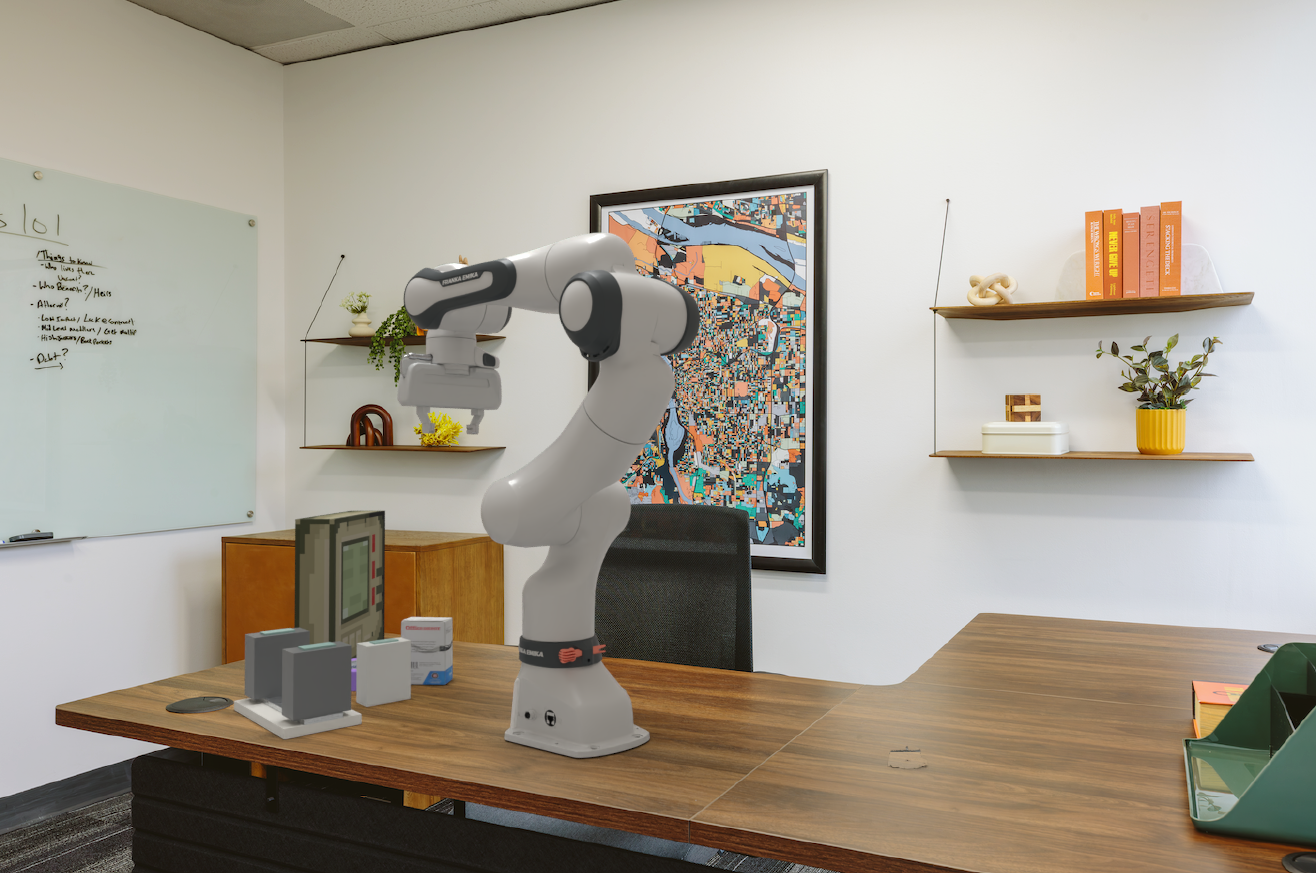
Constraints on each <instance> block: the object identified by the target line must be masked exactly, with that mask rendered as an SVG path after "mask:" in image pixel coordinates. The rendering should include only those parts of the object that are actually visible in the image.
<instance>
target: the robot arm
mask: <svg viewBox="0 0 1316 873" xmlns="http://www.w3.org/2000/svg"><path fill="white" fill-rule="evenodd" d="M403 306H404V310H405V311H406V314H407V315H408V317H409V318H410V319H411V321H412V322H413V323H414V324H415V326H417V328H419V329H421V330H427V332H426V333H427V334H426V335H425V336H426V337H425V353H416V352H407V354H405V355H403V356H402V358H400V363H399V372H400V373H399V379H398V384H397V401H398V403H399V405H400V406H401V407H414V408H416V409H415V410H416V415H417V417H418V420H419V421H420V423H421V426H422V427H421V432H422V434H435V432H436V429H435V428H436V423H434V422H432V420H431V419H430V417H429V414H430V413H431V408H434V409H457V410H458V409H459V410H470V415H471V416H473V417H472V419H471V421H470V424H466V426H465V427H466V434H467V435H478V434H479V433H480V432H479V431H480V426H479V425H480V424H481V422H482V420H483V419H484V417H485V411H496V410H499V408H500V407H501V405H502V402H503V401H502V397H503V396H502V395H503V394H502V392H503V391H502V379H501V375H500V373H499V372H498V370H496V369H499V368H500V363H501V361H500V358H499V357H498V356H496V355H494V354H492V353H490V352H489V351H486V350H484V349H483V348H482V347H480V346H477V336H476V335H477V334H480V335H481V334H482V335H490V334H497V333H500V332H501V331H503V330H504V329H505V327H506V326H507V325H508V324H509V322H510V320H511V318H512V314H513V313H512V312H513V308H515V309H520V310H525V311H532V312H534V313H535V312H537V313H541V314H549V315H550V314H552V315H559V319H560V320H559V321H560V323H561V325H562V327H563V330H564V332H565V334H566V335H567V337H568V338H569V339H570V341H571V342H572V343H573V344H574V345H575V346H576V347H577V348H578V349H579V352H580V354H581V357H582V358H583V359H585V360H586V361H589V362H591V363H592V362H593V363H599V366H600V367H599V372H598V376H597V378H596V380H595V381H594V383H593V385H591V387H590V388H589V391H588V392H587V394H586V395H585V396H584V399H583V400H582V402H581V403H580V405H579V407H578V408H577V410H576V411H575V413H574V414H573V416H572V417H571V419H570V420H569V422H568V423H567V425H566V426H565V428H564V430H563V431H562V432H561V433H560V435H559V436H558V437H556V439H555V440H554V441H553V442H552V443H551V444H550V445H549V446H547V448H545V449H544V450H543V451H541V453H539V454H538V455H537V456H536V457H534V458H533V459H532V460H530V461H529V462H528V463H527V464H525V465H524V466H522V467H521V468H519V469H518V470H516V471H514V472H512V473H510V474H508V475H507V476H504V477H502V478H500V479H496V480H495V481H493V482H492V483H491V484H490V485H489V486H488V488H487V489H486V491H485V492H484V495H483V497H482V501H481V505H480V518H481V523H482V526H483V528H484V530H485V532H486V533H487V535H488V536H489V537H490V539H491V540H492V541H493V542H495V543H497V544H501V545H506V546H511V547H519V548H525V549H526V548H538V547H541V548H542V547H549V549H548V552H547V555H546V558H545V560H544V562H543V563H542V565H541V566H540V567H539V568H538V569H537V570H536V571H535V572H534V573H533V574H532V575H530V576H529V577H528V578H527V580H526V581H525V583H524V585H523V588H522V592H521V598H522V602H521V603H522V604H521V606H522V607H521V609H522V610H521V615H522V616H521V621H522V622H521V623H522V624H521V627H522V629H521V635H520V636H519V644H518V649H517V650H518V660H519V661H520V663H521V664H520V669H519V672H518V674H517V676H516V678H515V680H514V683H513V693H512V703H511V704H512V705H511V712H510V713H511V716H510V725H509V728H507V729H506V730H505V732H504V740H505V741H506V742H507V741H509V742H512V743H515V744H520V745H523V746H526V747H527V746H528V747H531V748H535V749H538V750H539V749H540V750H543V751H548V752H552V753H555V754H559V755H564V756H568V757H572V758H577V759H578V758H579V759H580V758H581V759H582V758H592V757H593V758H594V757H599V756H600V757H601V756H606V755H611V754H614V753H615V754H616V753H619V752H623V751H626V750H629V749H630V750H631V749H632V748H633V749H634V748H637V747H638V746H640V745H642V744H645V743H647V742H648V741H650V739H651V738H650V737H651V736H650V732H649V731H647V730H646V729H645V728H642V727H641V726H639V725H636V724H634V713H633V706H632V705H633V704H632V699H631V697H630V695H629V694H628V691H627V690H626V688H623V687H622V686H621V685H620V683H619V682H618V681H617V679H616V678H615V677H614V676H613V675H612V673H611V672H610V671H609V669H608V668H607V667H606V666H605V665H604V663H603V662H602V660H603V655H602V653H606V650H602V649H604V648H605V647H606V644H600V642H599V639H598V636H597V634H596V633H595V617H596V616H595V612H596V610H595V608H596V589H597V582H598V577H599V573H600V570H601V568H602V564H603V561H604V559H605V557H606V554H607V552H608V550H609V548H610V547H611V545H612V543H613V542H614V541H615V539H617V537H618V536H619V535H620V534H621V533H622V532H623V531H624V530H625V529H626V527H627V526H628V523H629V521H630V518H631V511H632V505H631V499H630V495H629V492H628V490H627V489H626V486H625V485H624V484H623V483H622V482H621V481H620V480H621V479H622V478H623V477H625V475H627V473H628V472H629V470H630V468H631V467H632V465H633V464H634V463H635V461H636V460H637V459H638V456H640V454H641V452H642V450H644V447H645V446H646V444H647V443H648V442H649V441H650V439H651V438H652V436H653V434H654V432H656V429H657V428H658V426H659V424H660V423H661V421H662V419H663V417H664V415H665V413H666V412H667V411H666V410H667V408H668V406H669V404H670V402H671V400H672V396H673V395H674V390H675V387H676V379H675V378H676V377H675V375H674V372H673V370H672V367H671V366H670V365H669V364H668V362H666V360H665V359H664V358H663V357H664V356H665V357H666V356H672V355H676V354H679V353H681V352H683V351H685V350H687V349H688V348H689V347H690V346H691V345H692V344H693V342H694V341H695V339H696V338H697V336H698V333H699V328H700V325H701V324H700V323H701V316H700V315H701V314H700V308H699V305H698V303H697V301H696V299H695V298H694V296H692V294H690V293H689V292H688V291H686V290H685V289H684V288H682V287H680V286H679V285H676V284H675V283H672V282H670V281H667V280H665V279H664V278H662V277H660V276H658V275H653V276H650V277H647V276H643V275H642V274H640V273H639V272H638V270H637V267H636V259H635V255H634V253H633V250H632V248H631V247H630V245H629V244H628V242H626V240H624V239H623V238H622V237H621V236H619V235H617V234H615V233H612V232H591V233H584V234H583V233H582V234H578V235H575V236H574V235H573V236H571V237H568V238H563V239H561V240H558V241H556V242H552V243H550V244H547V245H544V246H541V247H538V248H535V249H532V250H529V251H525V252H521V253H518V254H513V255H509V256H506V257H502V258H498V259H494V260H490V261H484V262H480V263H479V262H478V263H475V264H471V265H468V264H464V263H459V262H449V263H443V264H439V265H437V266H435V267H433V268H430V267H425V268H422V269H420V270H419V271H418V272H417V273H416V274H414V275H413V276H412V277H411V278H410V279H409V280H408V282H407V284H406V286H405V288H404V292H403Z"/></svg>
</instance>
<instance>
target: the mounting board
mask: <svg viewBox="0 0 1316 873" xmlns="http://www.w3.org/2000/svg"><path fill="white" fill-rule="evenodd" d="M233 710H234V712H237V713H238V714H240V715H242V716H244V717H245V718H247V719H248V720H250V721H252V722H254V724H255V723H256V724H258V725H259V726H260V727H262V728H264V729H265V730H267V731H269V732H270V733H272V734H274V735H276V736H277V737H279V738H281V739H283V740H288V739H289V740H290V739H293V738H297V737H302V736H307V735H313V734H317V733H318V734H319V733H323V732H327V731H332V730H333V731H334V730H337V729H342V728H346V727H352V726H357V725H362V722H363V721H362V719H363V716H362V715H363V714H362V713H360V712H359V711H356V710H354V709H352V708H351V710H349V711H343V718H339V719H334V720H329V721H324V722H318V723H313V724H308V725H303V724H301V723H299V722H297V721H292V720H290V719H288V718H286V717H285V716H283V715H282V713H281V712H279V711H277V710H275V709H273V708H271V707H269V706H268V705H266V704H264V703H262V702H260V701H258V700H253V699H251V698H249V697H247V698H243V699H235V700H233Z"/></svg>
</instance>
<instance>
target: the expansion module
mask: <svg viewBox="0 0 1316 873" xmlns="http://www.w3.org/2000/svg"><path fill="white" fill-rule="evenodd" d="M355 692H356V695H355V697H356V698H355V702H356V703H357V704H359V705H362V706H364V707H366V708H370V707H374V706H378V705H384V704H390V703H394V702H396V703H397V702H399V701H404V700H406V701H407V700H411V697H412V694H411V693H412V684H411V640H408V639H404V638H401V636H399V637H392V638H384V639H383V640H376V641H369V642H363V643H357V676H356V691H355Z"/></svg>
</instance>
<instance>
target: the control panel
mask: <svg viewBox="0 0 1316 873" xmlns="http://www.w3.org/2000/svg"><path fill="white" fill-rule="evenodd" d="M294 522H295V523H294V619H293V620H294V627H293V628H302V629H305V630H308V631H310V645H311V644H319V643H326V642H338V641H340V642H343V643H346V644H349V645H352V658H351V659H353V658H357V643H363V642H369V641H376V640H383V639H385V603H386V602H385V595H386V593H385V589H386V588H385V586H386V584H385V583H386V581H385V580H386V579H385V578H386V577H385V576H386V575H385V573H386V572H385V570H386V566H385V565H386V560H385V558H386V556H385V555H386V554H385V553H386V552H385V551H386V550H385V549H386V547H385V546H386V539H385V538H386V510H347V511H340V512H334V513H327V514H321V515H314V516H308V517H301V518H296V519H294Z"/></svg>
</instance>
